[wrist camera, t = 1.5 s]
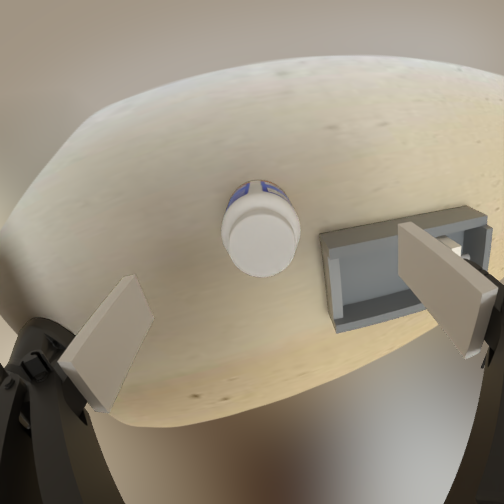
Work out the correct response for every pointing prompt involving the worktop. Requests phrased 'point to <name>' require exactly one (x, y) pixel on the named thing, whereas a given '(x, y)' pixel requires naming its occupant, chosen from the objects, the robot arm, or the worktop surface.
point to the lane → (389, 265)
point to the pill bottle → (260, 229)
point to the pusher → (452, 246)
